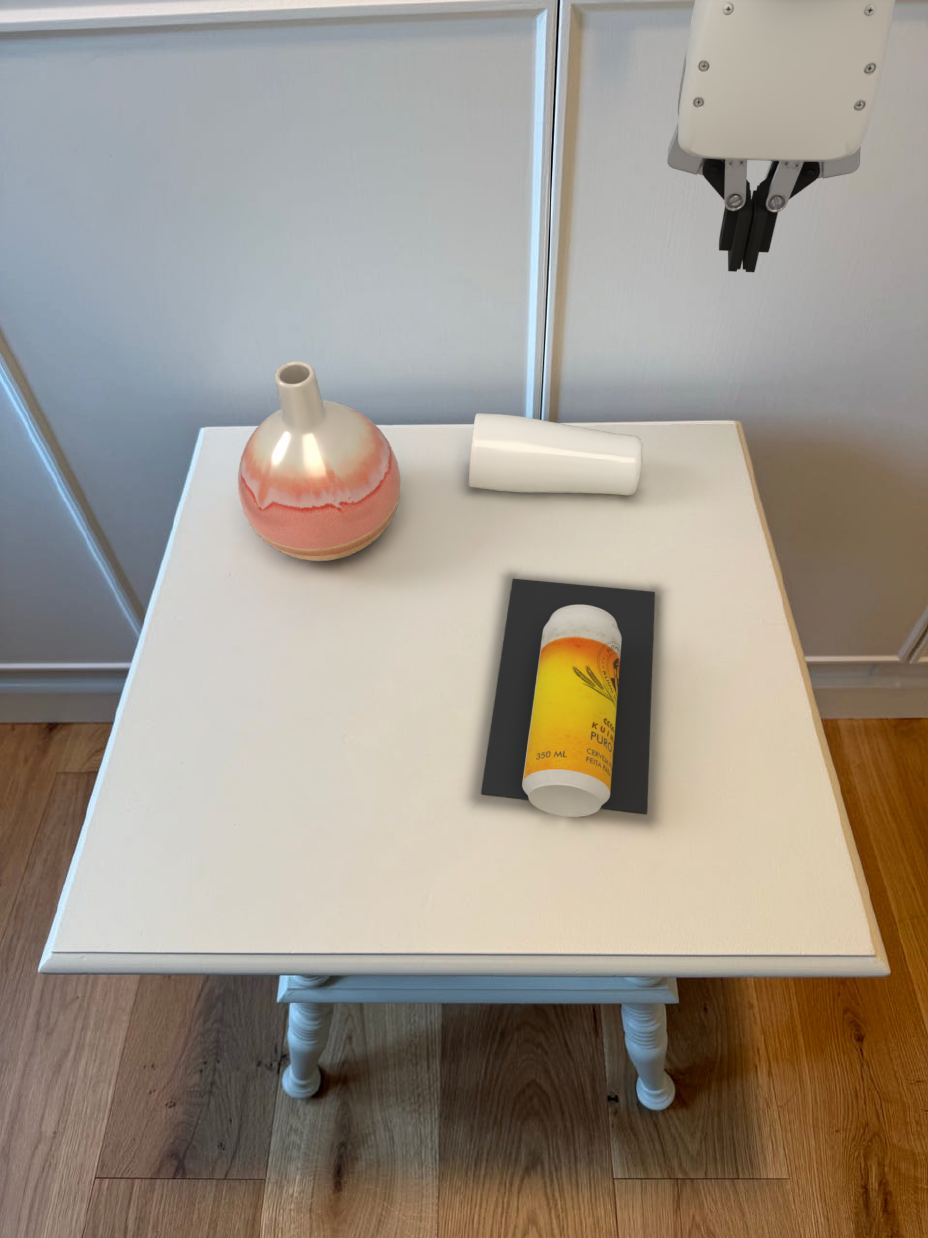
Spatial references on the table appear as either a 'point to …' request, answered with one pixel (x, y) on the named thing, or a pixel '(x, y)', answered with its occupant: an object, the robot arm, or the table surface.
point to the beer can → (574, 713)
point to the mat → (519, 677)
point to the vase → (317, 473)
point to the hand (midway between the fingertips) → (740, 258)
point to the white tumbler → (551, 457)
